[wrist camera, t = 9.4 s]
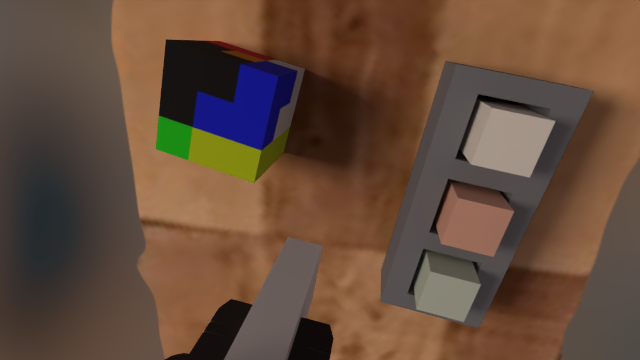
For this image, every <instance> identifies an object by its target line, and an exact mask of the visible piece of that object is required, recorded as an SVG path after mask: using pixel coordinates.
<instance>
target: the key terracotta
mask: <svg viewBox="0 0 640 360" xmlns="http://www.w3.org/2000/svg"><path fill="white" fill-rule="evenodd" d="M513 213H514V210H513V209H512V208H511V206H510V205H509V204H508V202H507V201H506V200H505V199H504V197H503V196H502V195H501V193H500V192H499V191H498V190H495V189H490V188H486V187H482V186H477V185H473V184H469V183H464V182H460V181H456V180H451V179H448V181H447V183H446V186H445V189H444V192H443V195H442V197H441V200H440V203H439V206H438V209H437V212H436V214H435V217H434V220H435V224H436V228H437V231H438V235H439V239H440V242H441V244H444V245H448V246H452V247H456V248H460V249H464V250H468V251H472V252H476V253H480V254H484V255H488V256H492V257H494V255H495V253H496V250H497V248H498V246H499V244H500V242H501V239H502V237H503V235H504V233H505V231H506V229H507V226H508V224H509V222H510V220H511V218H512V215H513Z"/></svg>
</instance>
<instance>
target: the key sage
mask: <svg viewBox="0 0 640 360" xmlns="http://www.w3.org/2000/svg"><path fill="white" fill-rule="evenodd" d="M413 284H414V293H415V302H416V309H417V310H421V311H425V312H428V313H432V314H436V315H439V316H443V317H447V318H450V319H454V320H458V321H461V322H464V321H465V318H466V316H467V314H468V312H469V310H470V308H471V305H472V303H473V301H474V299H475V297H476V294H477V292H478V290H479V288H480V286H481V283H480V281H479V278H478V276H477V273H476V271H475V268H474V265H473V263H472V261H470V260H466V259H462V258H458V257H454V256H450V255H446V254H442V253H438V252H434V251H430V250H426V249H423V251H422V254H421V257H420V259H419V262H418V265H417V268H416V271H415V273H414V276H413Z"/></svg>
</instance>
